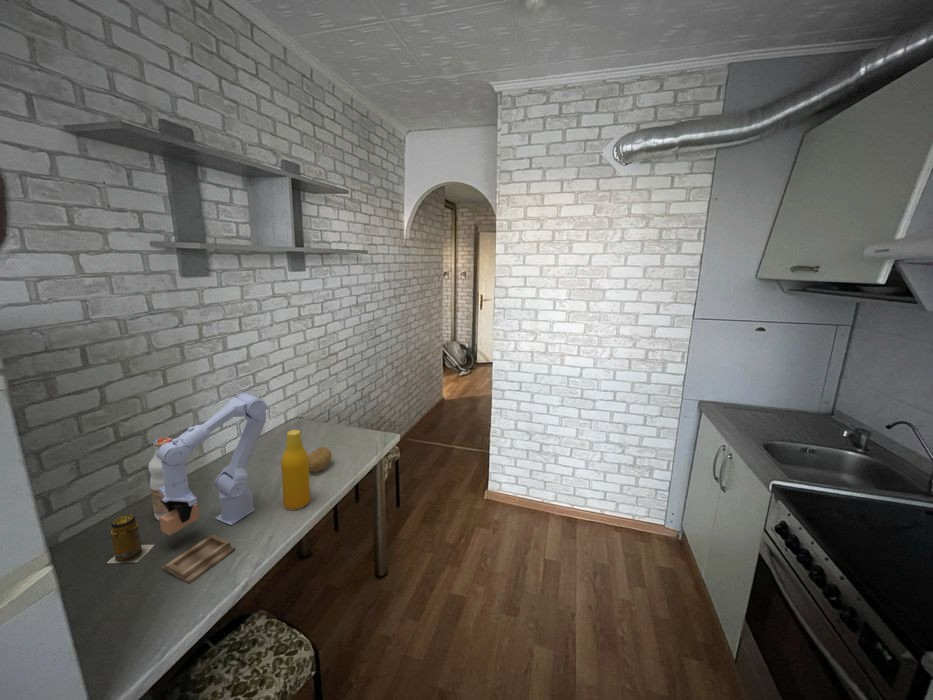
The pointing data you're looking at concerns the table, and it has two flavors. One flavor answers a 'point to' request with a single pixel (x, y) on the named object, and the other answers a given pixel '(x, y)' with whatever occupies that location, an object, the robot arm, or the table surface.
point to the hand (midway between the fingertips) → (180, 518)
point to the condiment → (127, 541)
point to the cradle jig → (199, 559)
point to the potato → (319, 459)
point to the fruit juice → (157, 479)
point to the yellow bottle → (295, 472)
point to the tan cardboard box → (176, 520)
